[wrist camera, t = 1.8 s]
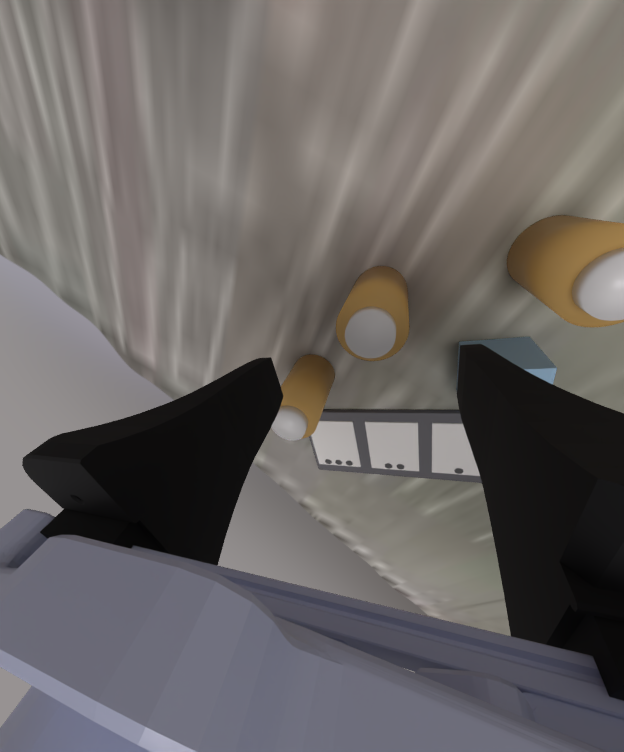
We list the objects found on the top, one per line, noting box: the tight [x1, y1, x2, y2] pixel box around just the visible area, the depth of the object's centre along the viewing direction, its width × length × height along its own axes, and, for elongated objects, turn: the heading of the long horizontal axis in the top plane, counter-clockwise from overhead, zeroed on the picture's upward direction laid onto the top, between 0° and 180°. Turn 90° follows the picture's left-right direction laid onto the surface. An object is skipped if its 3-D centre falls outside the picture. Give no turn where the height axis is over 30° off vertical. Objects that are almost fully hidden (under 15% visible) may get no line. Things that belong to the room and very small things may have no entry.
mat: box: [309, 410, 482, 483], centre depth 25 cm, size 8×16×1 cm, turn 102°
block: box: [456, 337, 557, 390], centre depth 18 cm, size 4×4×4 cm
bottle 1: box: [271, 355, 335, 441], centre depth 21 cm, size 4×4×7 cm
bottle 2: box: [336, 266, 409, 361], centre depth 16 cm, size 4×4×7 cm
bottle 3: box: [507, 215, 624, 327], centre depth 12 cm, size 4×4×7 cm
